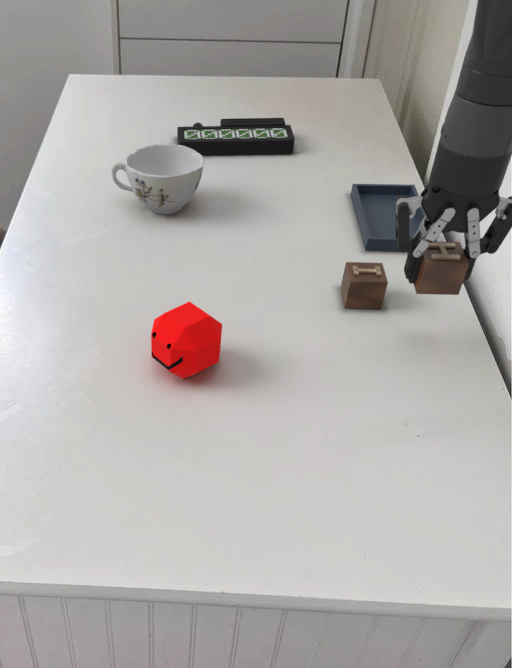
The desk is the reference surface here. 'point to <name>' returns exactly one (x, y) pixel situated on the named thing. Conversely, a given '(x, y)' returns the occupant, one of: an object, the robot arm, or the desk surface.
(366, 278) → the tile
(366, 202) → the word tray
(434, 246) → the tile
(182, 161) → the teacup
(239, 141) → the digital display
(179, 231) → the desk surface
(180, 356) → the ball
